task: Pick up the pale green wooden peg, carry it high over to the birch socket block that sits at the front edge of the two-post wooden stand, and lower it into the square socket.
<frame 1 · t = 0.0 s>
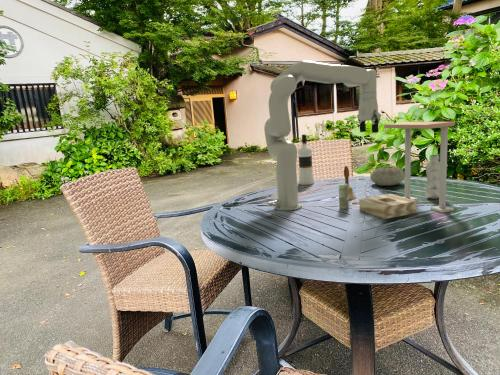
hand: (368, 132, 179), 31 cm above the table, tool pointing down, fingers open, 9 cm apart
peg: (344, 208, 163), on the table
plastic bottle: (433, 198, 168), on the table
hand bell: (347, 198, 182), on the table
socket block: (387, 211, 154), on the table
grey rounded lump: (387, 184, 204), on the table
vodka: (306, 184, 223), on the table
two-post wooden stand: (416, 165, 154), on the table
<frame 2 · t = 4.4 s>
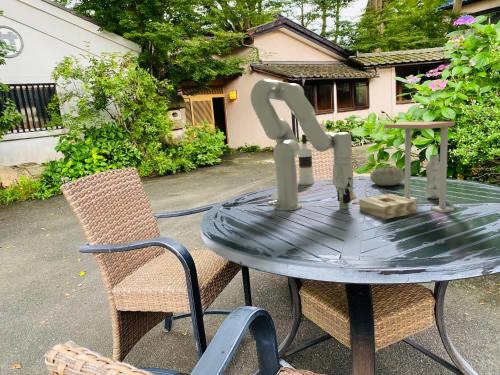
hand: (343, 201, 163), 3 cm above the table, tool pointing down, fingers closed on peg, 4 cm apart
peg: (344, 208, 163), on the table, touching gripper
everything else where it was.
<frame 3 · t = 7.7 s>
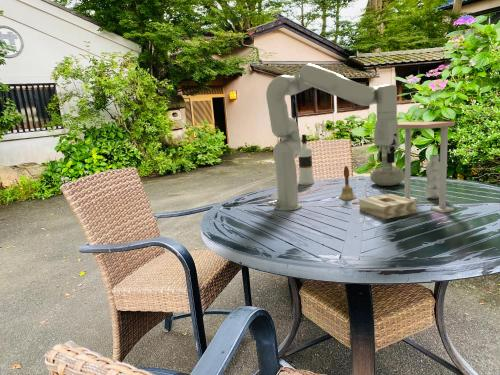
hand: (386, 161, 149), 21 cm above the table, tool pointing down, fingers closed on peg, 4 cm apart
peg: (387, 169, 150), point 18 cm above the table, touching gripper
everything else where it was.
when the fingers open (6 cm above the table, at t = 11.2 s): peg drops 1 cm, resting on socket block.
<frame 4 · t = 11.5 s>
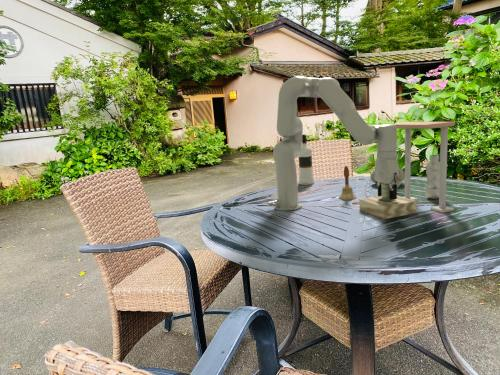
hand: (387, 197, 152), 6 cm above the table, tool pointing down, fingers open, 6 cm apart
peg: (387, 209, 154), point 1 cm above the table, touching socket block
everything else where it was.
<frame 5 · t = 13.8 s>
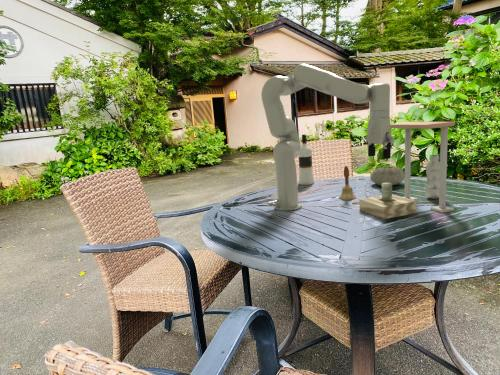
hand: (379, 157, 151), 23 cm above the table, tool pointing down, fingers open, 9 cm apart
nothing on the table moved.
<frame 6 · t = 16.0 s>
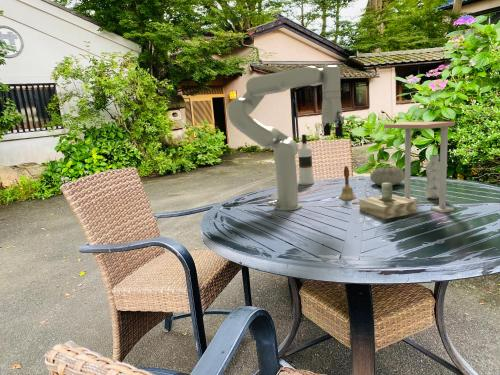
hand: (332, 136, 160), 32 cm above the table, tool pointing down, fingers open, 9 cm apart
nothing on the table moved.
at the end: peg 0.1 cm off-centre on the socket block, point 1.0 cm above the socket block's base; peg tilted 0°; the gripper is holding nothing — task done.
